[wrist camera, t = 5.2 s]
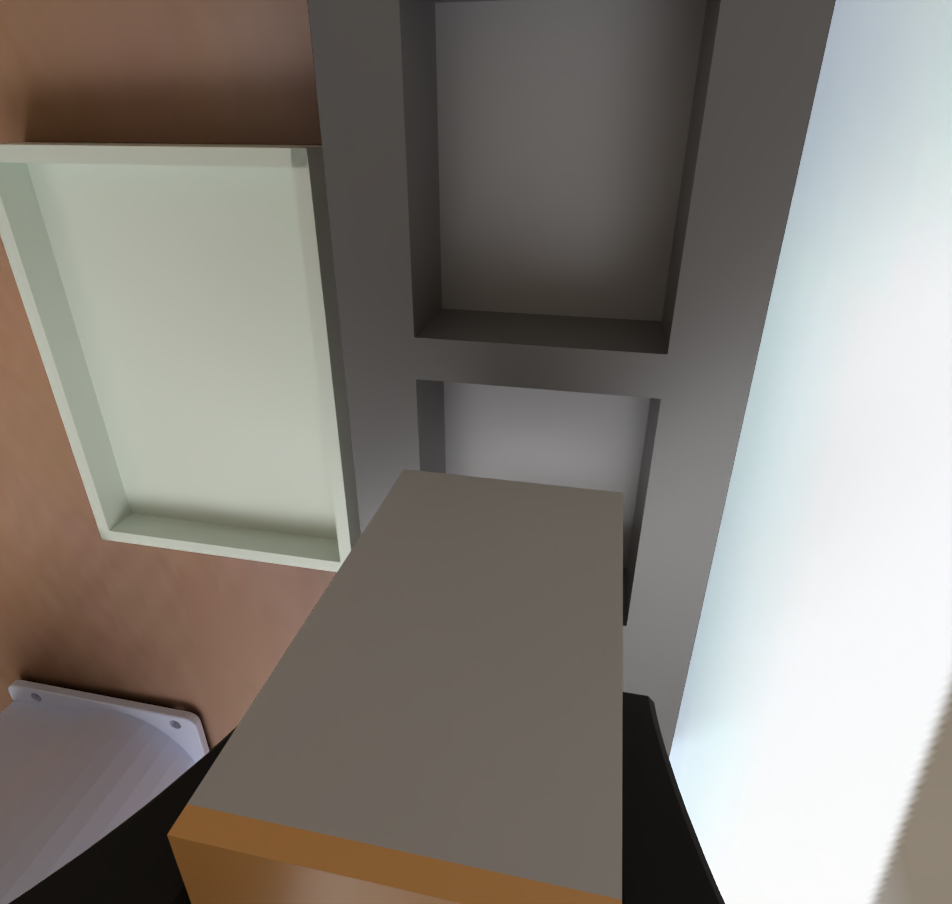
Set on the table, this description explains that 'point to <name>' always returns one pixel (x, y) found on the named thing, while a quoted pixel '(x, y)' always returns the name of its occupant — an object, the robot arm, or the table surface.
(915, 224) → the table surface
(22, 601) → the table surface
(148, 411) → the tray
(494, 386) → the grey slotted rack
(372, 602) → the plug
